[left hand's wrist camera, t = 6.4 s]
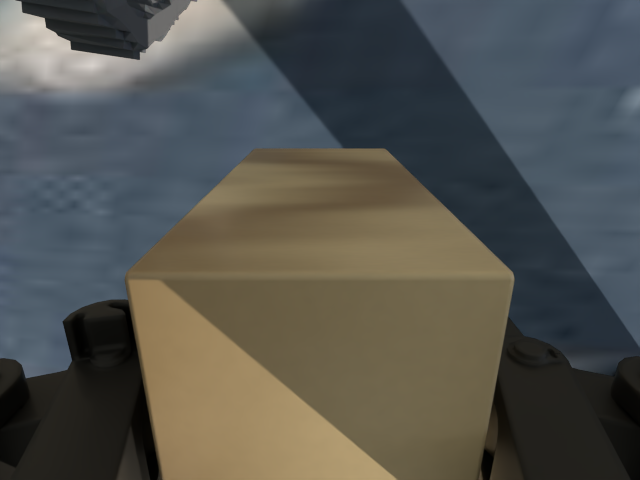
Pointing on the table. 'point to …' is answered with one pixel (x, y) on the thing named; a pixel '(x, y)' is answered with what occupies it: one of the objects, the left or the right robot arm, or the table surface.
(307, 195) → the beam
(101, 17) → the toy
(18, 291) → the table surface
